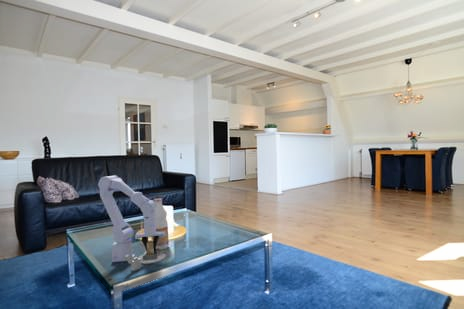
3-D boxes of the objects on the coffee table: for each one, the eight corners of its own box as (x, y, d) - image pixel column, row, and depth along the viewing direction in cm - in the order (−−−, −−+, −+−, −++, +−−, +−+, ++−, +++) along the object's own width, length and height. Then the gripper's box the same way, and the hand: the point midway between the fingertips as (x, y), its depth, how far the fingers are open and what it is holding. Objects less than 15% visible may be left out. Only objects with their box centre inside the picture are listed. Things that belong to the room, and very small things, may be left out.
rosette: (134, 265, 135) (133, 258, 135) (140, 255, 149) (140, 248, 149) (163, 262, 136) (163, 255, 136) (167, 252, 150) (166, 246, 150)
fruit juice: (148, 249, 158) (145, 200, 158) (161, 244, 166) (158, 197, 166) (159, 251, 153) (156, 200, 153) (172, 246, 161) (169, 198, 161)
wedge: (147, 257, 140) (146, 243, 140) (149, 253, 145) (148, 240, 145) (153, 256, 140) (152, 242, 140) (155, 253, 145) (154, 239, 145)
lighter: (138, 267, 132) (137, 250, 132) (141, 267, 131) (140, 250, 131) (125, 272, 126) (124, 255, 126) (127, 273, 125) (126, 255, 125)
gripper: (133, 227, 138) (134, 255, 138) (163, 225, 139) (164, 252, 139) (136, 224, 145) (138, 250, 145) (164, 222, 146) (166, 248, 146)
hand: (151, 251), depth 142 cm, fingers closed on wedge, 3 cm apart
